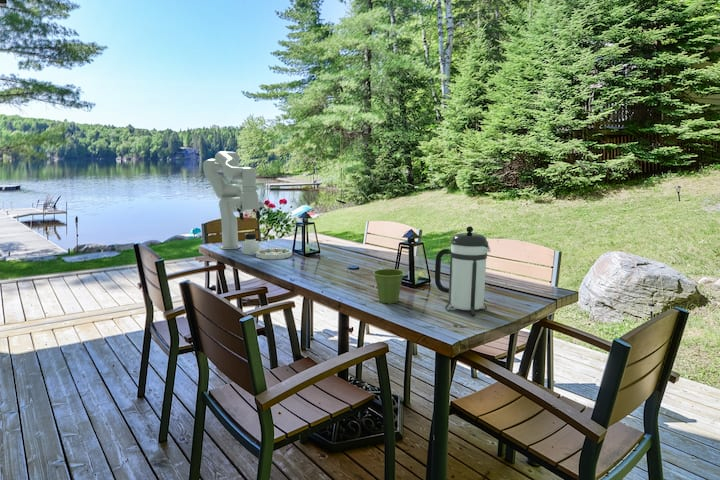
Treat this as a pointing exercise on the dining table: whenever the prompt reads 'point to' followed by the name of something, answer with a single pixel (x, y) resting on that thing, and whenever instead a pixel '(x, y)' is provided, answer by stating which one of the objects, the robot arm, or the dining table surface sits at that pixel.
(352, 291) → the dining table surface
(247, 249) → the medicine bottle
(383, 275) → the plant pot
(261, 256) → the tray
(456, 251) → the coffee press
